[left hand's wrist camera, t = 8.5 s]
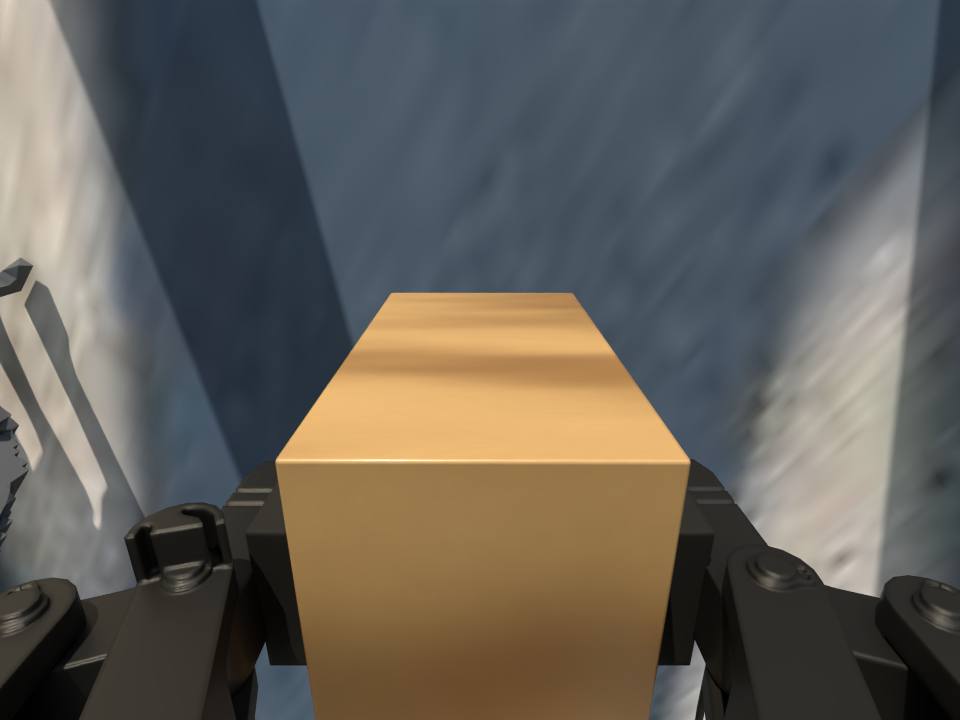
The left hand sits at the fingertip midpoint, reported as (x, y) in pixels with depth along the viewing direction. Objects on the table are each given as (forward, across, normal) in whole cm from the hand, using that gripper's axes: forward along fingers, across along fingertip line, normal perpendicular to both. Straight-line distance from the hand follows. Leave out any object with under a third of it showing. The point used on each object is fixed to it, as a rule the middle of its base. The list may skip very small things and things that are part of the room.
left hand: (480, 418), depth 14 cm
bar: (+1, 0, -8) cm, 8 cm away
